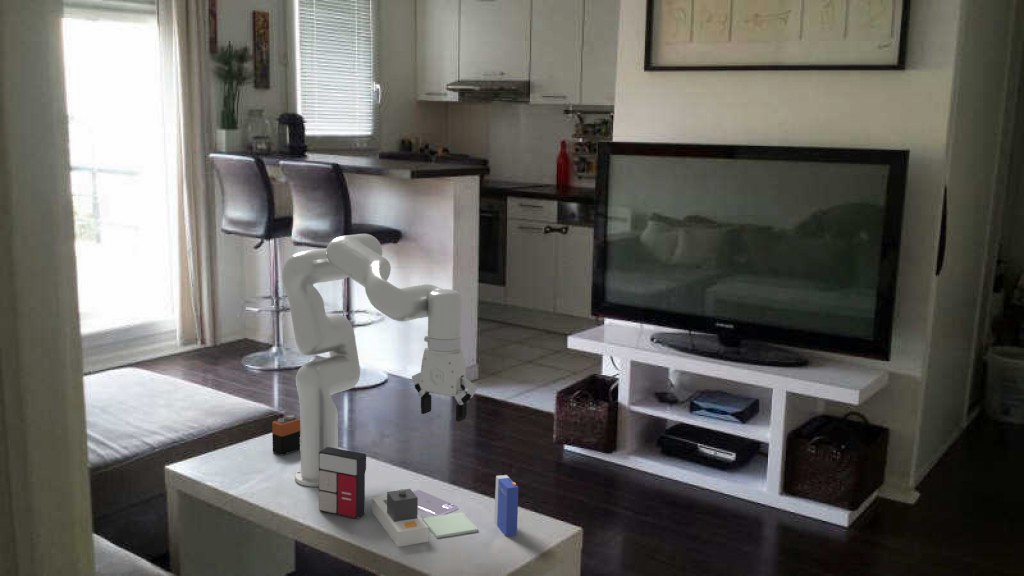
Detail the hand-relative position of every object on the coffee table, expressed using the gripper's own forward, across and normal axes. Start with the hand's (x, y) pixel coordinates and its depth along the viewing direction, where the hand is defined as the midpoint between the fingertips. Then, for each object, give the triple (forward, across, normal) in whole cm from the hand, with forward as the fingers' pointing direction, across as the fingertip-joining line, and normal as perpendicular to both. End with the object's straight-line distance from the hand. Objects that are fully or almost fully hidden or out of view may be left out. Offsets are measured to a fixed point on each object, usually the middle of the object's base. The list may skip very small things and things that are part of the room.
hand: (443, 416), depth 210 cm
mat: (+26, +3, -1) cm, 26 cm away
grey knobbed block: (+24, -5, -9) cm, 26 cm away
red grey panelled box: (+26, -23, -9) cm, 36 cm away
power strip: (+26, -7, -8) cm, 28 cm away
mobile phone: (+26, -9, +7) cm, 29 cm away
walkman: (+26, +14, +5) cm, 30 cm away
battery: (+26, -63, +14) cm, 69 cm away
